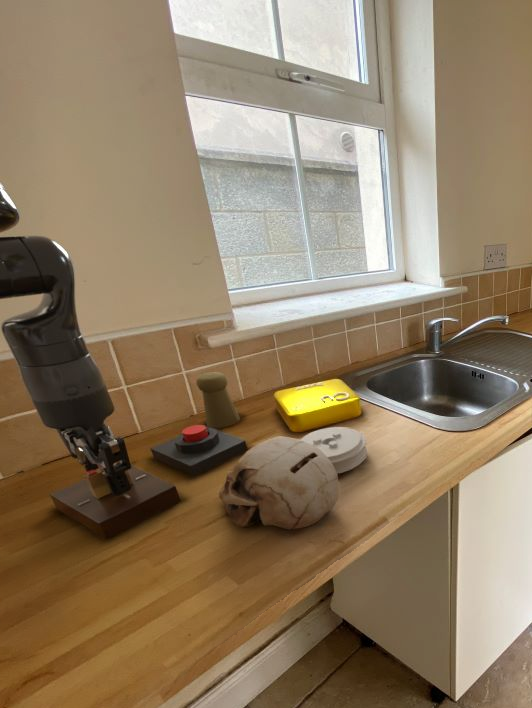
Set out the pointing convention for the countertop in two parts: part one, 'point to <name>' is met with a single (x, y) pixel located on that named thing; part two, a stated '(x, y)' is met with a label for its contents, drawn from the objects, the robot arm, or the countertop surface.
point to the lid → (339, 446)
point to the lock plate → (116, 503)
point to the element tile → (317, 405)
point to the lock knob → (99, 482)
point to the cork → (217, 400)
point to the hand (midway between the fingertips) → (112, 486)
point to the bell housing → (199, 451)
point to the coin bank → (281, 485)
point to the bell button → (194, 433)
